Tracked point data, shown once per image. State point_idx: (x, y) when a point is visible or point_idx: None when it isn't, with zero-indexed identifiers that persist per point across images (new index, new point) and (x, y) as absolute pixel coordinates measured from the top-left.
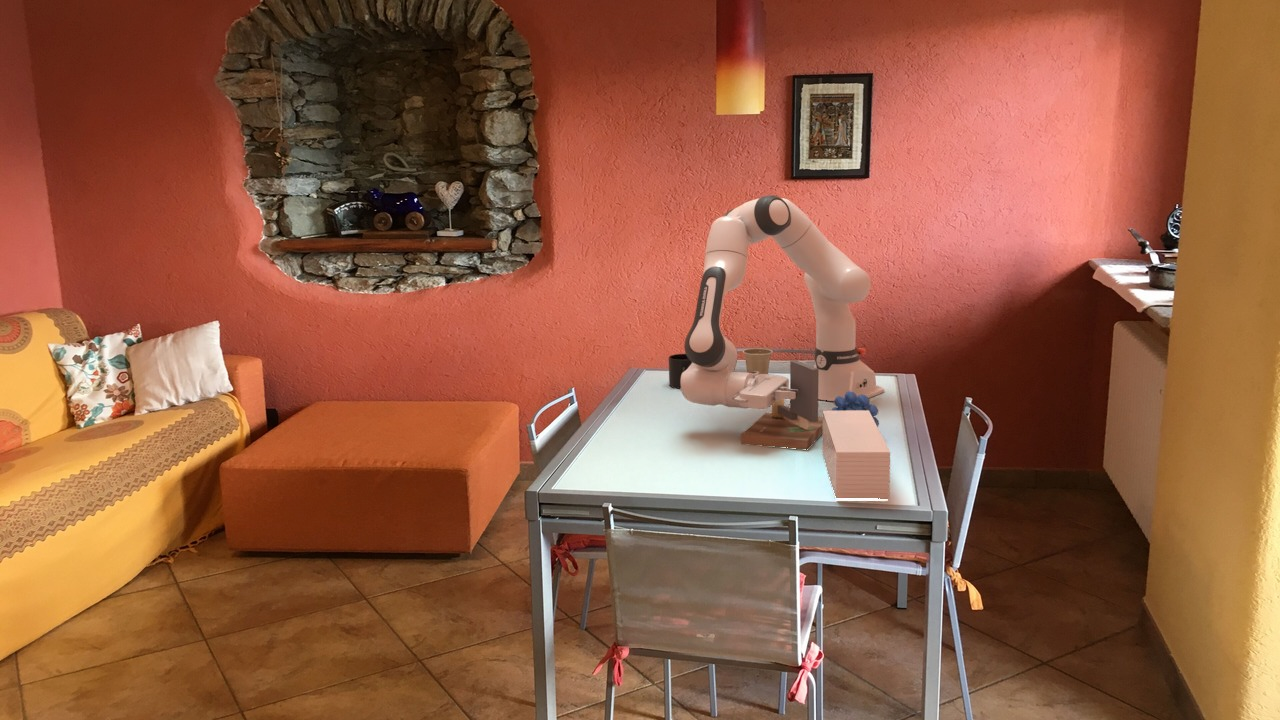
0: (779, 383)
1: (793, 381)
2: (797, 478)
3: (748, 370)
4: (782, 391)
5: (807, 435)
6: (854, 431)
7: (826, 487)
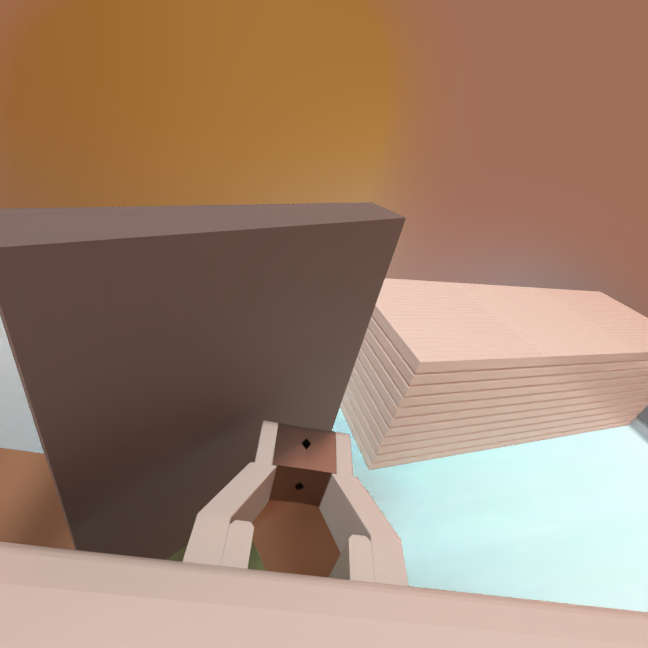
0: (165, 580)
1: (132, 426)
2: (604, 513)
3: None
4: (377, 519)
5: (306, 507)
6: (551, 315)
7: (587, 443)
